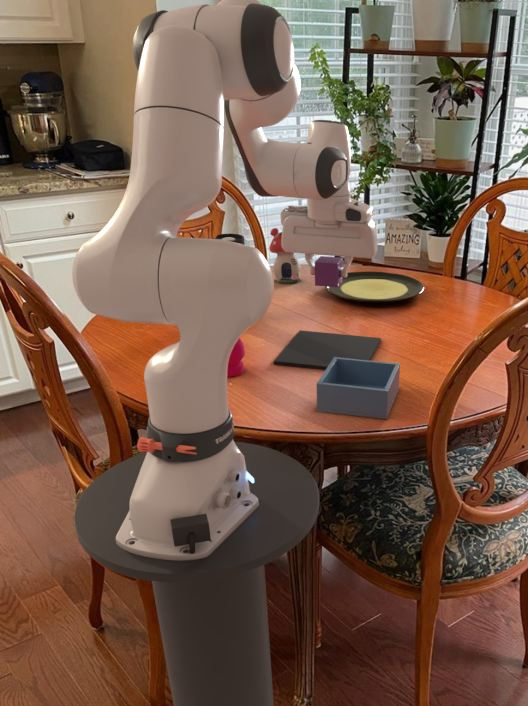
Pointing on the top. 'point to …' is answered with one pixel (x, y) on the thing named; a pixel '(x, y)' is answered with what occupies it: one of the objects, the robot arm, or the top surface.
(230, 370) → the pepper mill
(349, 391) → the basket
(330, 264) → the block
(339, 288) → the plate
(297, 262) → the decorative ornament
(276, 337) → the top surface
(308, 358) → the plate
